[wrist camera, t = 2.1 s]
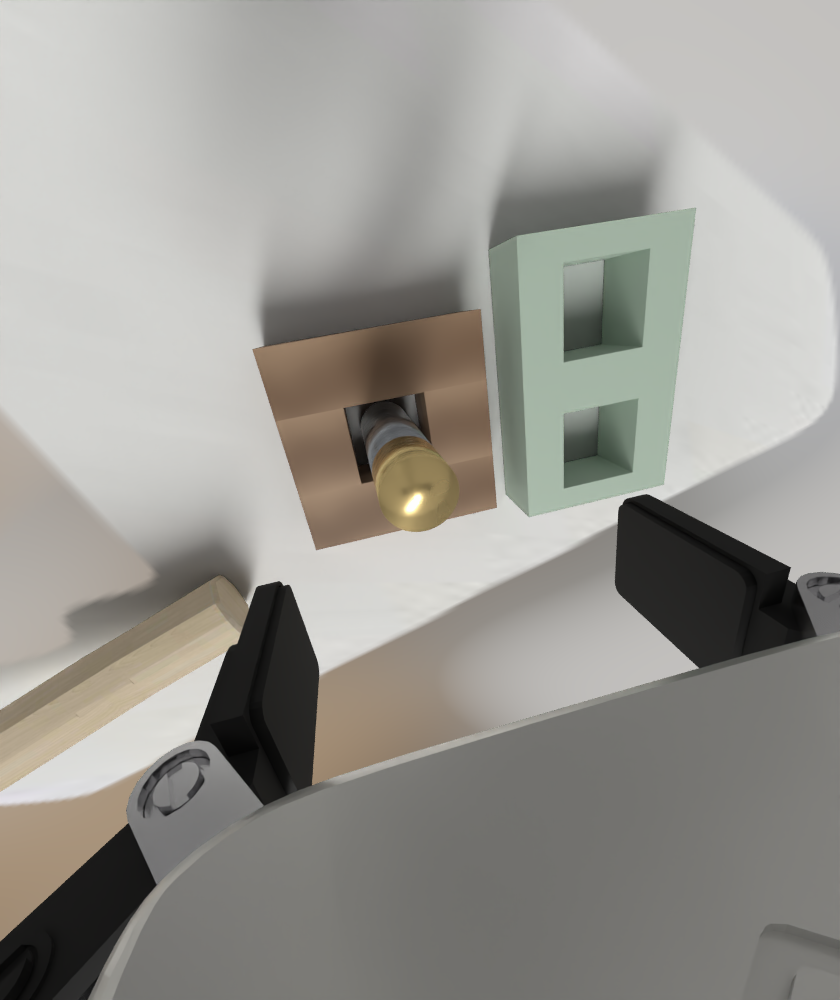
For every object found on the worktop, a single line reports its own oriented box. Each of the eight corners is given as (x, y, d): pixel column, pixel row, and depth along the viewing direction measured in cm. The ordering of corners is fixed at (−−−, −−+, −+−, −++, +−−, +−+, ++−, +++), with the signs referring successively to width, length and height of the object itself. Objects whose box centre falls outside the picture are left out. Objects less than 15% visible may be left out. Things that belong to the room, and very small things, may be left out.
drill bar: (355, 406, 25) (370, 465, 15) (404, 397, 26) (454, 447, 15) (366, 453, 27) (387, 539, 16) (412, 444, 27) (463, 521, 16)
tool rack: (488, 249, 23) (516, 235, 20) (642, 225, 24) (696, 207, 21) (505, 494, 30) (529, 517, 26) (625, 466, 31) (663, 484, 28)
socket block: (263, 346, 23) (252, 349, 20) (461, 311, 24) (480, 309, 21) (318, 525, 28) (316, 550, 25) (479, 488, 29) (496, 507, 26)
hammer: (203, 649, 19) (-658, 1195, 13) (259, 706, 21) (-463, 1200, 15) (220, 533, 33) (-194, 771, 27) (252, 574, 35) (-124, 804, 29)
